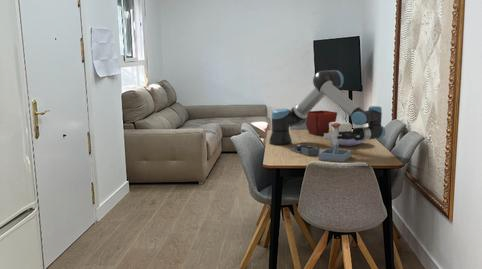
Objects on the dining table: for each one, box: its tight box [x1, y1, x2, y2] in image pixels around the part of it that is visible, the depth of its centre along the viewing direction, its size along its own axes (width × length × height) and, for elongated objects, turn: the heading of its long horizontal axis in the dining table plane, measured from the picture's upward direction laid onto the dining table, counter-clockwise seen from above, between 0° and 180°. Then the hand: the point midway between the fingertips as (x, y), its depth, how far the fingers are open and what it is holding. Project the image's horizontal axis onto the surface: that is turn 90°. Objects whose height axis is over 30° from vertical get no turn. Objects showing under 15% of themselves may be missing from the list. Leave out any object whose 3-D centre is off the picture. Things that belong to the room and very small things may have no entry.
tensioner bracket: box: [290, 143, 321, 157], centre depth 293 cm, size 20×9×4 cm, turn 23°
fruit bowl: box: [327, 129, 365, 147], centre depth 318 cm, size 28×27×11 cm
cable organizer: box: [329, 121, 353, 132], centre depth 343 cm, size 15×11×12 cm
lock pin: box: [331, 123, 340, 154], centre depth 274 cm, size 5×5×19 cm
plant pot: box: [304, 110, 338, 136], centre depth 366 cm, size 19×19×17 cm
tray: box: [318, 148, 352, 163], centre depth 275 cm, size 15×15×4 cm
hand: (328, 136), depth 271 cm, fingers open, 7 cm apart
